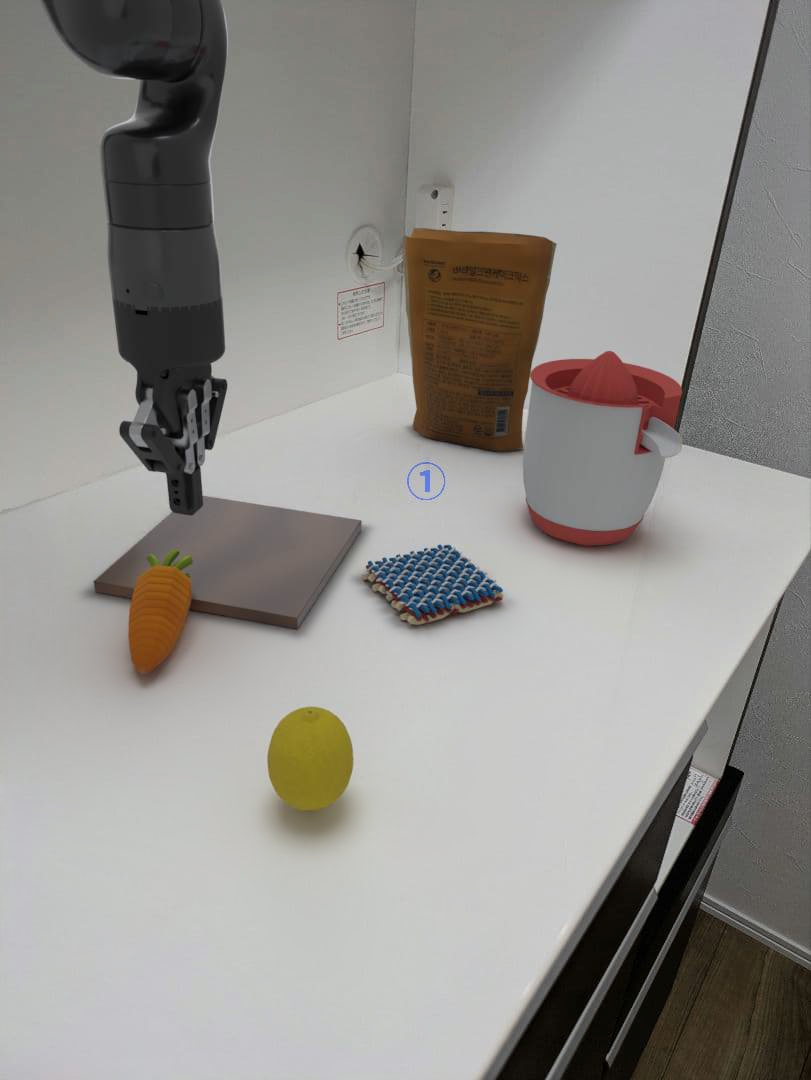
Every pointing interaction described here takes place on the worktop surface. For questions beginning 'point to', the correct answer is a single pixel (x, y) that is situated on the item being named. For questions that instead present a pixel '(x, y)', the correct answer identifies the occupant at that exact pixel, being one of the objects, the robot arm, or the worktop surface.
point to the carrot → (158, 610)
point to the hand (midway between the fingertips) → (186, 510)
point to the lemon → (310, 758)
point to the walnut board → (243, 559)
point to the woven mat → (432, 584)
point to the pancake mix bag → (474, 331)
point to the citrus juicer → (596, 446)
